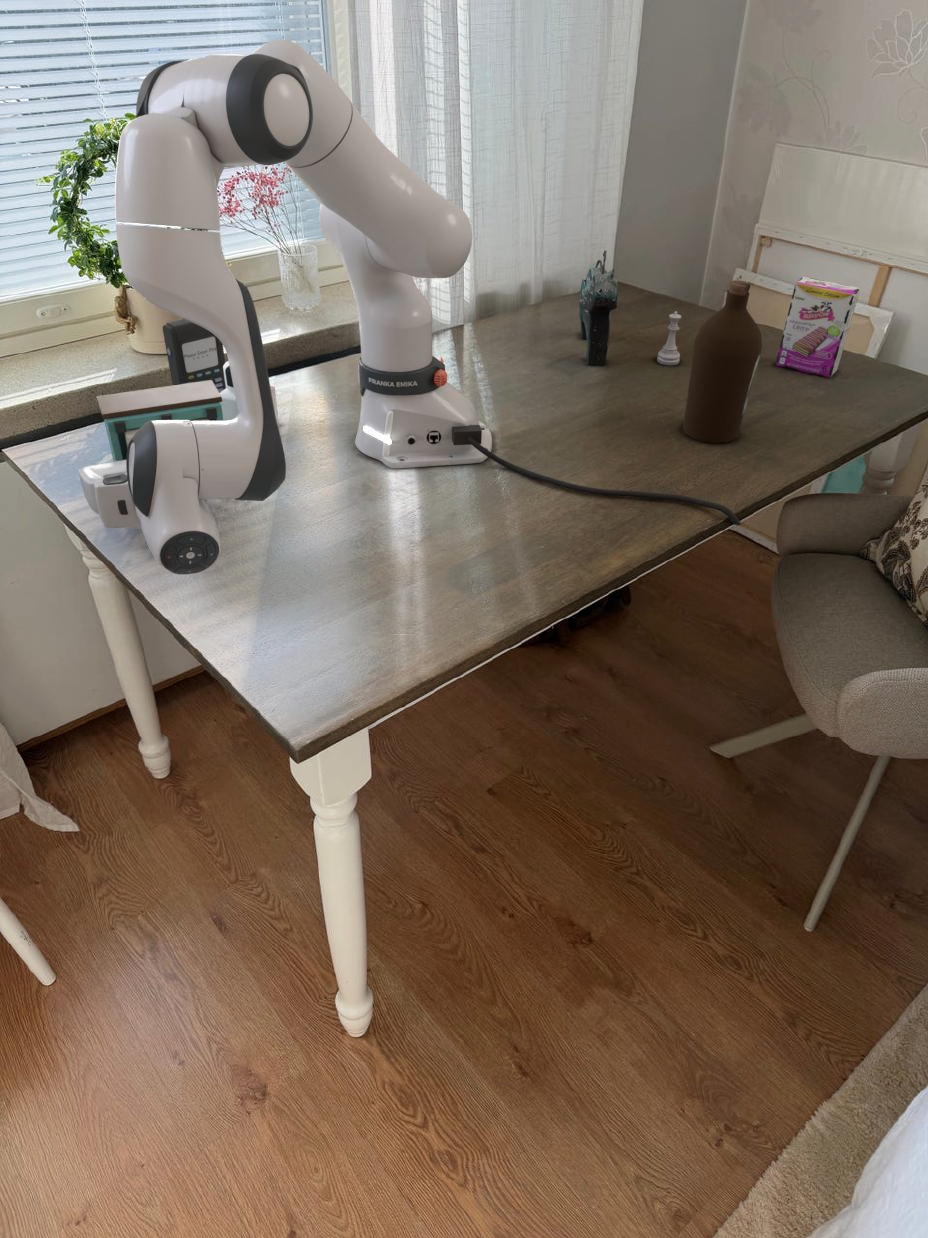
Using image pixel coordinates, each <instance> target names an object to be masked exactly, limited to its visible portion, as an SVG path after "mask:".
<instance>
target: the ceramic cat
mask: <svg viewBox="0 0 928 1238" xmlns="http://www.w3.org/2000/svg"><path fill="white" fill-rule="evenodd" d="M607 252H608V251H607V250H604V251H603V254H602V256H603V261H602V260H601V259H598V260H597V261H596V264H595V267H590V268H588V271H587V274H586V277H585V279H583V278H582V281H581V284H580V292H579V300H578V315H579V320H580V338H581V339H582V340H586V353H585V360H586V362H587V365H588V366H596V367H597V366H599V367H602V366H603V367H604V366H606V362H607V357H608V351H609V344H610V343H609V342H610V332H611V318H612V317H611V316H612V311H613V310H616V309H617V308H618V305H619V304H618V300H619V299H618V298H619V297H618V296H619V295H618V294H619V283H618V277H617V275H615V268H612V269H610V270H609V271H607V270H606V267H605V266H606V260H607ZM598 266H599V267H598Z"/></svg>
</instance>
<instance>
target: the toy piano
mask: <svg viewBox="0 0 928 1238" xmlns="http://www.w3.org/2000/svg"><path fill="white" fill-rule="evenodd" d="M95 398H96V403H97V406H98V408H99V412H100V414H101V418H102V420H103V423H104V426H105V429H106V435H107V439H108V444H109V448H110V452H111V456H112V462H115V461H121V460H126V459H127V444H126V440H125V435H124V432H127V429H133V428H140V427H142V426H143V425H144V424H145V423H146V422H148V421H156V420H191V419H198V418H204V417H207V418H208V419H210V421H223V413H222V407H221V404H220V402H222V397H221V395H220V393H219V392H218V390H217V388H216V387H215V385H214V383H213V381H212V380H208V381H201V382H194V383H187V384H179V385H173V384H172V385H167V386H158V387H151V388H144V389H138V390H130V391H124V392H118V393H117V392H116V393H109V394H103V395H96V396H95Z"/></svg>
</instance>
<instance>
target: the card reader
mask: <svg viewBox="0 0 928 1238" xmlns="http://www.w3.org/2000/svg"><path fill="white" fill-rule="evenodd" d="M162 333H163V339H164V345H165V350H166V356H167V361H168V366H169V373H170V377H171V383H172V385H179V384H187V383H194V382H201V381H208V380H212V381H213V383H214V385H215V387H216V388H217V390H218V392H219V393H220V392H222V391H223V390H224V389H226V385H225V378H224V371H223V365H224V364H225V363H226V360H225V351H224V350H225V349H224V346H223V344H222V343H221V341H220V340H219V339H218V338H217V337H216V336H215V335H214V334H213V333H211V332H210V331H208V330H206V329H205V328H203V327H201V326H199V325H196V324H194V323H192V322H190V321H187V320H185V319H182V318H181V319H178V320H177V319H176V320H173V321H169V322H166V323H165V324H163V325H162Z"/></svg>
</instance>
